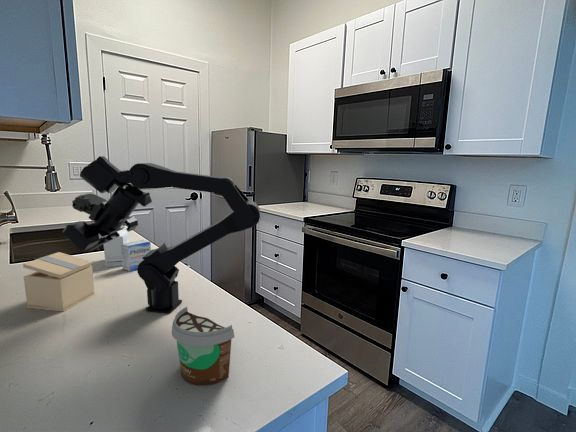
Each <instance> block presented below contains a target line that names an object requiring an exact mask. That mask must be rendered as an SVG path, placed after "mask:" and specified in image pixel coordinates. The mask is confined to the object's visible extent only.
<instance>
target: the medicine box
mask: <svg viewBox="0 0 576 432" xmlns="http://www.w3.org/2000/svg"><path fill="white" fill-rule="evenodd" d="M121 248H122V260H123V266H122V269H123V270H125V271H128V272H133V271H137V269H138V265H139V263H140V262H142V261H143V260H144V259H142V258H143V257H144V256H145V255H146V254H147V253H148V252H150V251H151V250H152V247H151V241H150V240H145V239H142V240H136V241H132V242H131V241H130V243H125V244H121Z"/></svg>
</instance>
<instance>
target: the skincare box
mask: <svg viewBox="0 0 576 432" xmlns="http://www.w3.org/2000/svg"><path fill="white" fill-rule="evenodd" d="M117 232H118V233H119V235H120V236H119V237H117V238H115V239H113V240H111V241H109V242H107V243H105V244H103V251H104V252H103V253H104V262H105V268H108V267H109V268H111V267H123V260H122V248H121V244H125V243H131V240H130V231H129V232H128V231H127V230H126V229H122V230H120V231H117Z"/></svg>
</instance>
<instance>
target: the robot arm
mask: <svg viewBox="0 0 576 432" xmlns="http://www.w3.org/2000/svg"><path fill="white" fill-rule="evenodd" d="M79 173H80V174H79V177H80V178H81V179H82V180H83V181H85V182H86V183H87V184H89V185H90V186H91V187H93V188H94V189H95V190H96V191H98V192H99V193H100V194H105V193H107V194H111V193H112V192H113V193H112V195H111V196H110V197H109V198H108V200H107V199H106V198H104V197H101V196H99V195H96V194H95V193H86V194H80V195H78V196H76V197H75V198H74V199H73V200H72V202H71V203H72V209H74V210H76V211H78V212H80V213H82V212H83V213H85V214H88V215H89V216H88V219H89V220H90V221H92V223H86V221H84V220H83V221H81V220H79V221H76V222H72V223H69V224H67V225H65V227H64V229H63V230H62V234H63V235H64V236H65V237H67V239H68V240H70V241H71V242H72V243H73V244H74V245H75V246H76V247H77V248H78V249H80V250H82V251H86V252H92V251H93V250H95V249H98V248H99V247H101V246H102V245H103V244H105V243H107V242H109V241H111V240H113V239H115V238H117V237H119V236H120V235H119V233H118V232H117V231H120V230H124V228H125V226H127V228H126V229H125V230H127V231H128V232H129V233H130V232H131V231H135V229H136V228H137V227H138V226H139V223H138V219H137V218H136V217H135V215H134V214H133V213H134V211H135V209H136V208H137V207H138V206H139V205H141V206H142V207H147V206H148V205H150V204H151V203H152V202H153V200H152V197H151V196H150V195H151V193H150V192H148V191H147V192H145V191H143V190H152V189H167V188H169V189H170V188H171V189H172V188H173V189H181V190H191V191H199V192H206V193H213V194H214V193H215V194H220V195H221V196H222V197H223V198H224V200H225V202H226V203H227V205H228V206H229V207H230V209H231V210H230V212H229V213H227V214H226V215H225V216H224V217H223V218H221V219H220V220H218V221H217V222H214V223H213V224H211V225H209V226H207V227H206V228H204V229H202V230H200V231H199V232H196V233H195V234H193V235H191V236H189V237H187V238H186V239H183V240H182V241H181V242H179V243H177V244H175V245H173V246H172V245H171V246H169V247H167V245H166V243H165V242H164V243H162V244H161V245H160V246H159V247H158V248H157V247H156V248H155V249H151V251H150V252H148V253H147V254H146V255H145V256H144V257H143V258H142V259H144V260H143V261H142V262H140V263H139V265H138V269H137V270H136V271H137V275H138V277H139V278H140V279H142V280H143V283H144V284H145V287H146V293H147V299H146V300H147V305H148V306H147V307H146V308H145V311H146V312H155V313H163V314H170V313H172V312H173V311H174V310H175V309H176V308H178V307H179V306H180V305H181V304H182V302H183V299H180V298H179V297H180V296H179V281H176V280H175V279H176V278H177V277H178V275H179V271H180V269H179V268H178V267H177V266H176V265H177V264H178V263H179V262H181V261H183V260H184V259H187V258H188V257H191V256H192V255H194V254H195V253H197V252H199V251H202V249H205V248H206V247H208V246H210V245H212V244H214V243H215V242H217V241H220V240H221V239H223V238H224V237H226V236H228V235H230V234H234V233H240V232H242V231H246V230H248V229H250V228H253V227H255V226H257V224H258V223H259V222H260V219H261V209H260V206H259V205H258V204H257V203H256V202H255V201H253V200H250V199H249V198H248V197H247V196H246V195H245V193H244V191H242V190H241V189H240V188H239V187H238V185H237V184H236V183H235V181H234V179H232V178H231V177H228V176H224V177H222V176H215V175H207V174H199V173H193V172H192V173H190V172H184V171H176V170H173V169H170V168H168V167H165V166H162V165H159V164H156V163H153V162H144V163H135V164H134V165H131V167H130V169H126V170H125V169H124V170H123V169H122V170H120V169H119V168H118V167H117V166H115V165H114V164H113V163H112V162H111V161H110V160H109V159H108V158H106V157H105V156H98V157H97V158H96V159H95V160H93V161H92V162H89V164H88V165H85V166H84V167H83V169H82V170H81V172H79ZM103 246H104V245H103Z"/></svg>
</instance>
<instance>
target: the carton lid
mask: <svg viewBox="0 0 576 432" xmlns="http://www.w3.org/2000/svg"><path fill="white" fill-rule="evenodd" d="M88 266H93V261H90V260H88V259H84V258H81V257H77V256H73V255H71V254H66V253H65V252H60V251H57V252H55V253H51V254H48V255H45V256H41V257H38V258H37V259H34V260H31V261H28V262H25V263H23V264H22V268H24V269H28V270H31V271H34V272H40V273H43V274H47V275H50V276H53V277H57V278H63V277H65V276H67V275H70V274H72V273H74V272H77V271H79V270H81V269H84V268H86V267H88Z"/></svg>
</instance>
